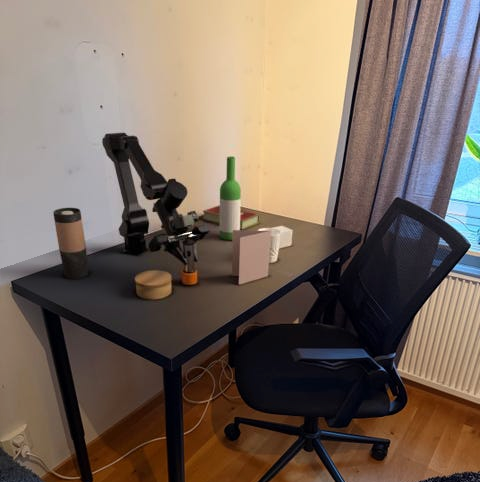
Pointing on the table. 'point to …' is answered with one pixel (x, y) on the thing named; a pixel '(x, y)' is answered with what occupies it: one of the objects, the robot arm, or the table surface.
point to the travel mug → (71, 242)
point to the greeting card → (250, 254)
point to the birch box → (153, 284)
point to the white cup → (273, 243)
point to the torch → (189, 264)
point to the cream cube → (285, 236)
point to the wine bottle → (229, 202)
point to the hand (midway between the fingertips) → (191, 263)
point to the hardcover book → (245, 217)
